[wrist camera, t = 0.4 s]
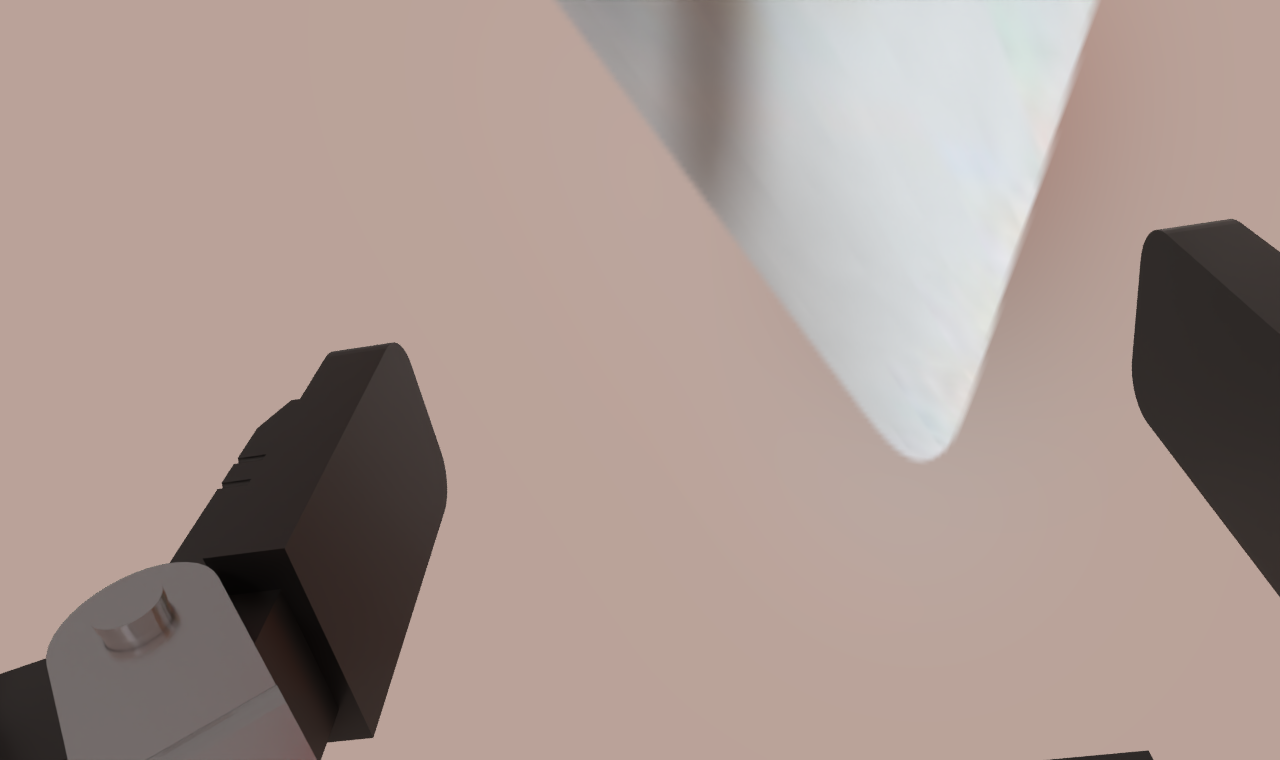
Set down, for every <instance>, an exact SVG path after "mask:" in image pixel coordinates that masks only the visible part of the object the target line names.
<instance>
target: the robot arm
mask: <svg viewBox="0 0 1280 760" xmlns="http://www.w3.org/2000/svg"><path fill="white" fill-rule="evenodd" d="M1132 378H1133V386H1134V391H1135V395H1136V399H1137V402H1138V405H1139V408H1140V410H1141V413H1142V415H1143V417H1144V418H1145V420H1146V421H1147V423H1148V424H1149V426H1150V427H1151V428H1152V429H1153V431H1154V432H1155V433H1156V435H1157V436H1158V437H1159V439H1160V440H1161V441H1162V443H1163V444H1164V445H1165V447H1166V448H1167V449H1168V451H1169V452H1170V453H1171V454H1172V456H1173V457H1174V458H1175V460H1176V461H1177V462H1178V464H1179V465H1180V466H1181V467H1182V469H1183V470H1184V471H1185V473H1186V474H1187V476H1188V477H1189V478H1190V479H1191V481H1192V482H1193V483H1194V485H1195V486H1196V487H1197V489H1198V490H1199V491H1200V492H1201V494H1202V495H1203V496H1204V498H1205V499H1206V501H1207V502H1208V503H1209V504H1210V506H1211V507H1212V508H1213V510H1214V511H1215V512H1216V514H1217V515H1218V516H1219V518H1220V519H1221V520H1222V522H1223V523H1224V524H1225V525H1226V527H1227V528H1228V529H1229V531H1230V532H1231V533H1232V535H1233V536H1234V537H1235V538H1236V540H1237V541H1238V543H1239V544H1240V545H1241V547H1242V548H1243V549H1244V550H1245V552H1246V553H1247V554H1248V556H1249V557H1250V558H1251V560H1252V561H1253V562H1254V564H1255V565H1256V566H1257V568H1258V569H1259V570H1260V571H1261V573H1262V574H1263V575H1264V577H1265V578H1266V579H1267V581H1268V582H1269V583H1270V585H1271V586H1272V587H1273V589H1274V590H1275V591H1276V592H1277V594H1278V595H1279V596H1280V252H1279V251H1278V250H1276V249H1275V248H1274V247H1272V246H1271V245H1270V244H1268V243H1267V242H1266V241H1264V240H1263V239H1261V238H1260V237H1259V236H1258V235H1256V234H1255V233H1254V232H1252V231H1251V230H1250V229H1248V228H1247V227H1246V226H1244V225H1243V224H1242V223H1240V222H1238V221H1237V220H1233V219H1228V220H1221V221H1214V222H1208V223H1201V224H1194V225H1187V226H1181V227H1174V228H1167V229H1160V230H1154V231H1153V232H1151V233H1150V234H1149V235H1148V237H1147V238H1146V240H1145V243H1144V245H1143V249H1142V254H1141V263H1140V275H1139V286H1138V298H1137V310H1136V321H1135V333H1134V346H1133V358H1132ZM238 461H239V463H238V464H234V465H233V467H232V468H231V470H230V471H229V472H228V474H227V476H226V477H225V479H224V480H223V482H222V486H223V488H222V489H217V491H216V492H215V494H214V496H213V497H212V499H211V500H210V502H209V503H208V505H207V506H206V508H205V509H204V511H203V512H202V514H201V516H200V517H199V519H198V520H197V522H196V523H195V525H194V526H193V528H192V529H191V531H190V532H189V534H188V535H187V537H186V539H185V540H184V542H183V543H182V545H181V546H180V548H179V549H178V551H177V552H176V554H175V556H174V557H173V559H172V560H171V562H170V563H168V564H162V565H158V566H154V567H150V568H147V569H144V570H141V571H139V572H136V573H134V574H131V575H129V576H127V577H124V578H122V579H120V580H118V581H116V582H115V583H113V584H111V585H109V586H107V587H105V588H104V589H102V590H101V591H99V592H98V593H96V594H95V595H93V596H92V597H91V598H89V599H88V600H87V601H85V602H84V603H83V604H81V605H80V606H79V607H78V608H77V609H76V610H75V611H74V612H73V613H72V614H70V616H69V617H68V618H67V619H66V620H65V621H64V622H63V624H61V626H60V627H59V629H58V630H57V631H56V633H55V634H54V636H53V638H52V640H51V642H50V644H49V647H48V651H47V655H46V659H43V660H40V661H37V662H35V663H31V664H28V665H25V666H23V667H20V668H17V669H14V670H11V671H8V672H5V673H2V674H0V760H321V757H322V755H323V752H324V749H325V746H326V744H327V742H336V741H346V740H355V739H365V738H373V737H374V733H375V731H376V727H377V724H378V721H379V718H380V715H381V711H382V708H383V705H384V702H385V699H386V696H387V692H388V689H389V686H390V683H391V679H392V676H393V673H394V670H395V667H396V664H397V660H398V657H399V654H400V651H401V648H402V645H403V641H404V638H405V635H406V632H407V629H408V626H409V622H410V619H411V616H412V612H413V610H414V606H415V603H416V600H417V597H418V593H419V591H420V587H421V584H422V581H423V578H424V575H425V571H426V568H427V565H428V562H429V559H430V556H431V552H432V549H433V546H434V543H435V540H436V537H437V533H438V530H439V527H440V524H441V521H442V517H443V514H444V511H445V507H446V499H447V479H446V471H445V465H444V461H443V457H442V454H441V451H440V448H439V445H438V442H437V439H436V436H435V433H434V430H433V427H432V425H431V421H430V418H429V416H428V413H427V410H426V407H425V404H424V401H423V398H422V395H421V392H420V389H419V386H418V383H417V381H416V377H415V375H414V372H413V369H412V366H411V363H410V360H409V358H408V356H407V354H406V352H405V351H404V349H403V348H402V347H401V346H400V345H399V344H398V343H387V344H381V345H374V346H367V347H361V348H354V349H347V350H340V351H334V352H331V353H329V354H328V355H327V356H326V358H325V359H324V361H323V362H322V364H321V366H320V367H319V369H318V371H317V372H316V374H315V375H314V377H313V379H312V381H311V382H310V384H309V386H308V387H307V389H306V390H305V392H304V393H303V395H302V397H301V398H300V399H298V400H291V401H290V402H289V403H287V404H286V405H285V406H284V407H283V408H281V409H280V410H279V411H278V412H277V413H275V414H274V415H273V416H272V417H270V418H269V419H268V420H267V421H266V422H264V423H263V424H262V425H261V426H260V427H258V428H257V429H256V431H255V433H254V434H253V436H252V437H251V439H250V440H249V442H248V443H247V445H246V446H245V448H244V449H243V451H242V453H241V454H240V456H239V457H238ZM1052 760H1153V758H1152V757H1151V754H1150V753H1149V751H1139V752H1128V753H1117V754H1106V755H1096V756H1085V757H1073V758H1063V759H1052Z"/></svg>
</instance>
